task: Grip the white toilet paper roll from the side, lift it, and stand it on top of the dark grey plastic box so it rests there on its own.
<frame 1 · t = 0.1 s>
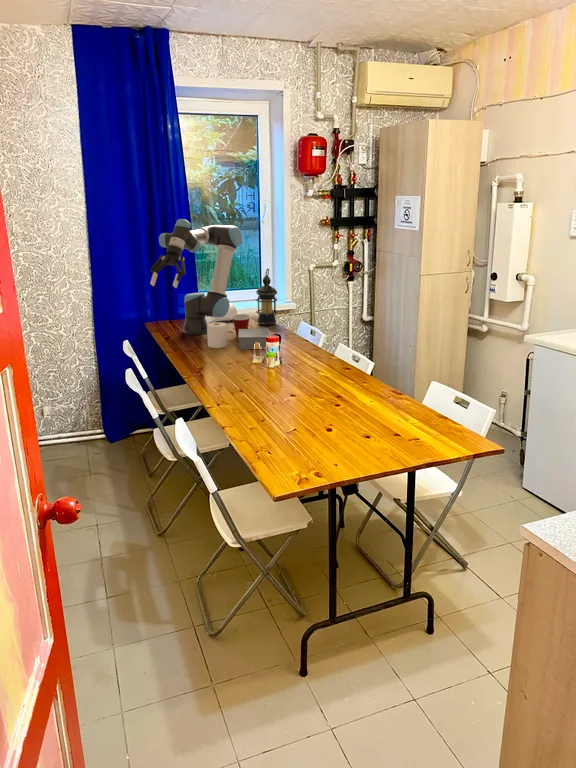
hand: (163, 285, 298), 36 cm above the table, tool tilted 35°, fingers open, 13 cm apart
lantern: (266, 324, 376), on the table
plastic cup: (241, 336, 347), on the table
grey box: (253, 345, 328), on the table
toilet paper: (217, 346, 327), on the table
rocket engine: (221, 321, 385), on the table
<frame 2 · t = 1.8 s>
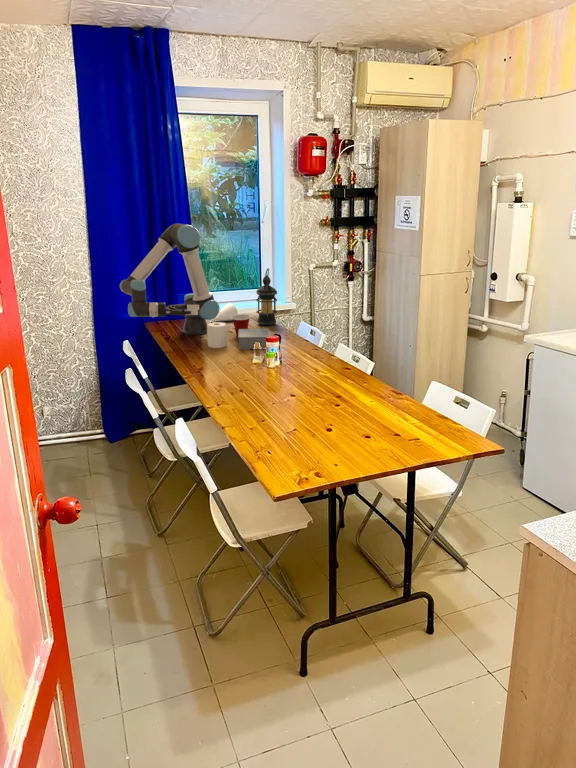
hand: (198, 309, 320), 20 cm above the table, tool horizontal, fingers open, 13 cm apart
nothing on the table moved.
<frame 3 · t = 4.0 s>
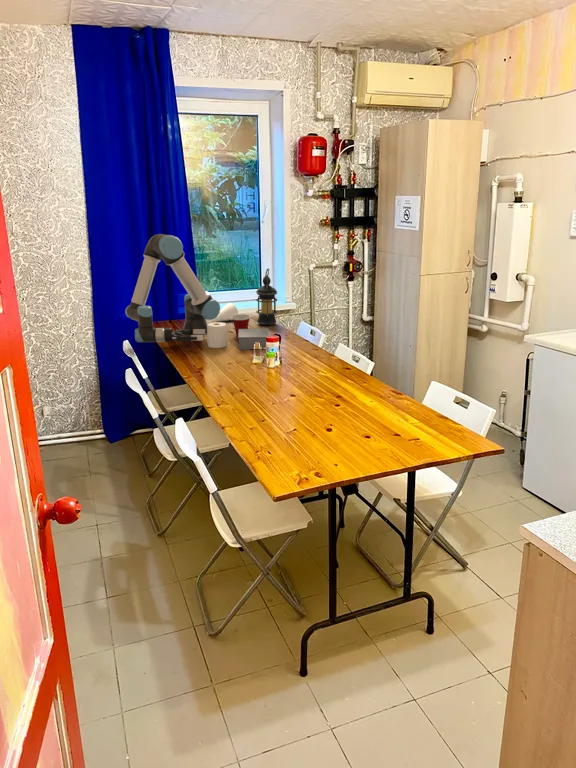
hand: (204, 334, 324), 6 cm above the table, tool horizontal, fingers open, 13 cm apart
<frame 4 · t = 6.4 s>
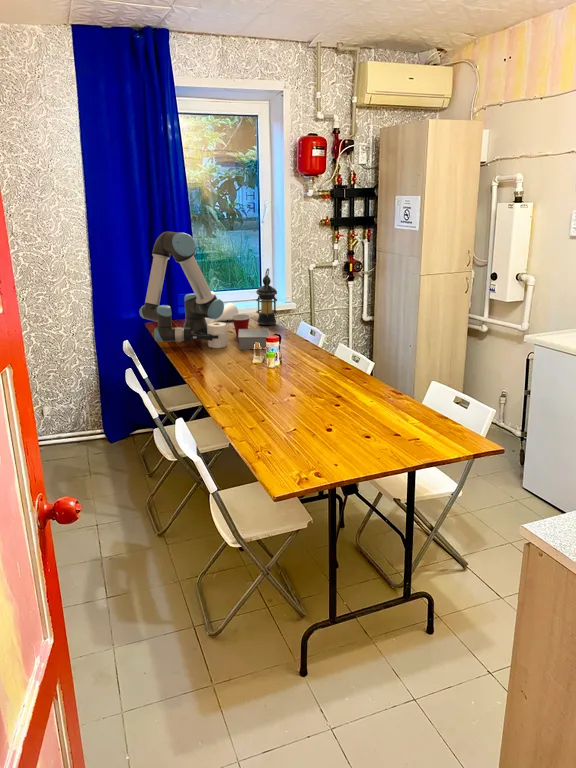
hand: (224, 334, 325), 7 cm above the table, tool horizontal, fingers closed on toilet paper, 10 cm apart
toilet paper: (217, 346, 327), on the table, touching gripper
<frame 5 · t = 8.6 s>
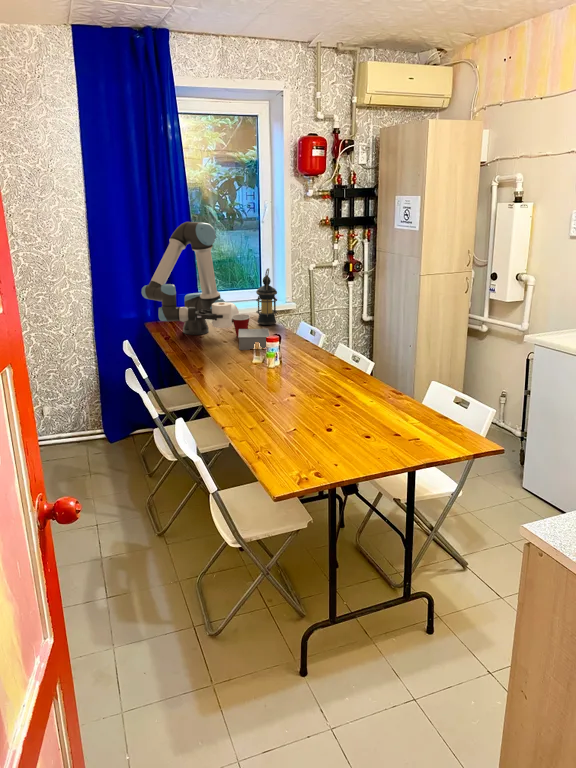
hand: (229, 313, 320), 18 cm above the table, tool horizontal, fingers closed on toilet paper, 10 cm apart
toilet paper: (222, 326, 322), point 11 cm above the table, touching gripper
when the fingers open (15 cm above the table, at t = 10.8 s): toilet paper drops 1 cm, resting on grey box.
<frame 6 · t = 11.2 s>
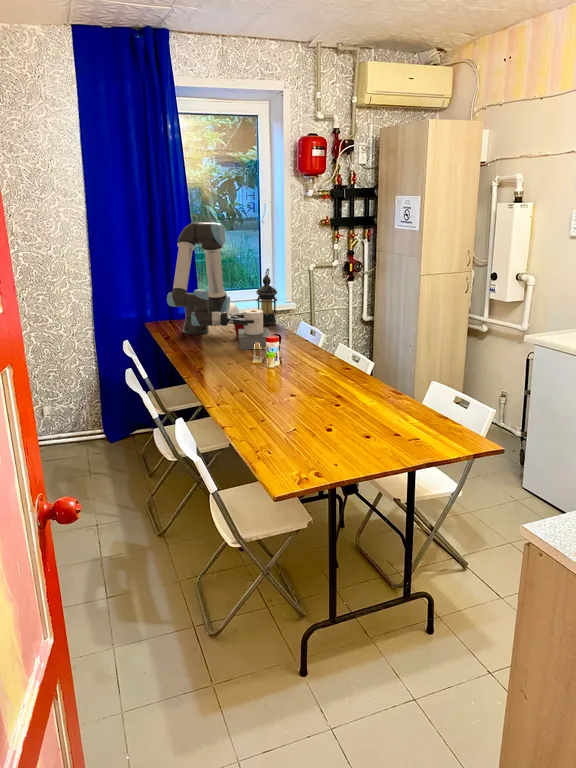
hand: (259, 318, 324), 15 cm above the table, tool horizontal, fingers open, 13 cm apart
toilet paper: (253, 333, 326), point 7 cm above the table, touching grey box
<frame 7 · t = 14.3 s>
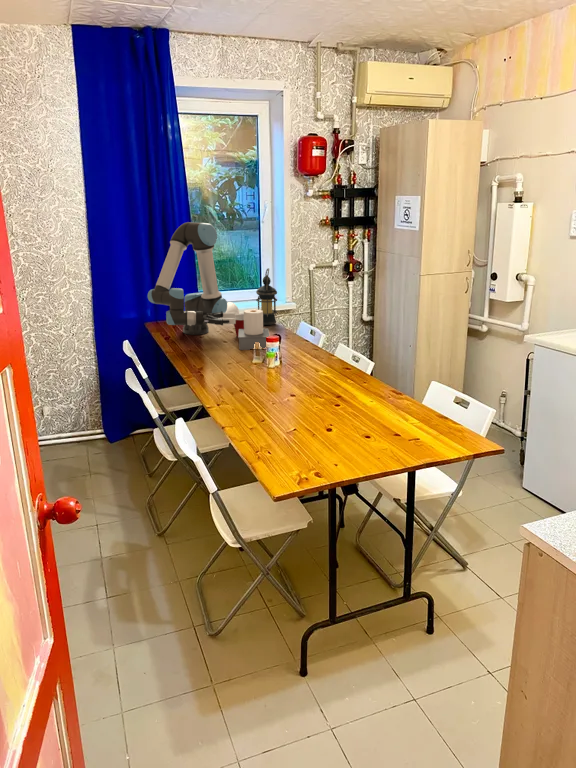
hand: (235, 318, 323), 15 cm above the table, tool horizontal, fingers open, 13 cm apart
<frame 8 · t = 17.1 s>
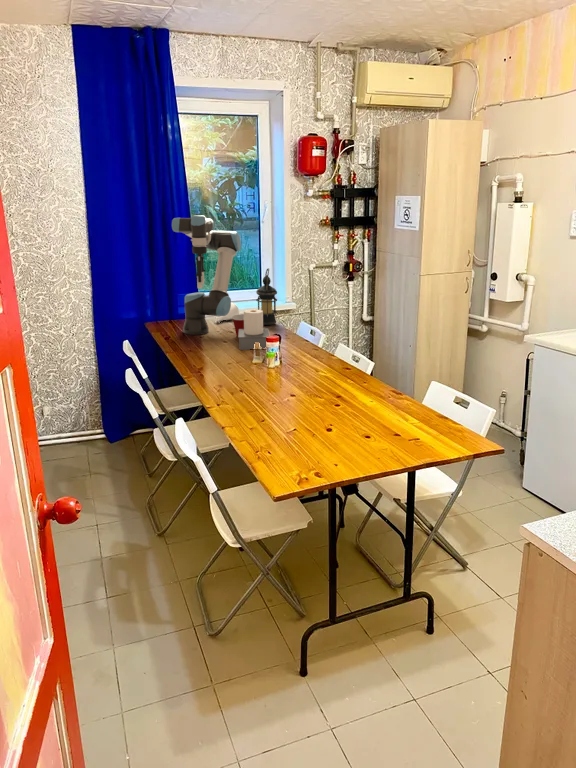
hand: (201, 286, 322), 32 cm above the table, tool pointing down, fingers open, 13 cm apart
at the end: toilet paper inside the target area on the grey box (0.1 cm from its centre), point 6.8 cm above the grey box's base; toilet paper tilted 0°; the gripper is holding nothing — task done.
